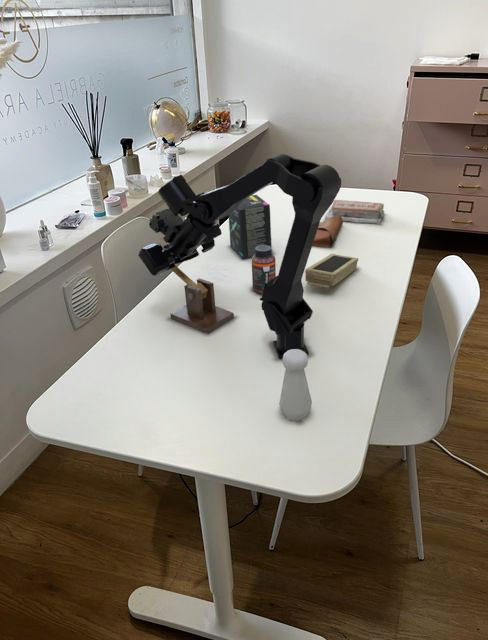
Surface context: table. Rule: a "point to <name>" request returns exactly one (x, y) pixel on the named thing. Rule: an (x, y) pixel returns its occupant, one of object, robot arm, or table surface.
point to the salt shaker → (295, 386)
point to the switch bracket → (201, 309)
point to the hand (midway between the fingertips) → (164, 266)
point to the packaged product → (357, 211)
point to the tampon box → (250, 226)
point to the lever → (189, 281)
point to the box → (330, 270)
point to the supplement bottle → (262, 267)
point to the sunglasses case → (328, 231)
